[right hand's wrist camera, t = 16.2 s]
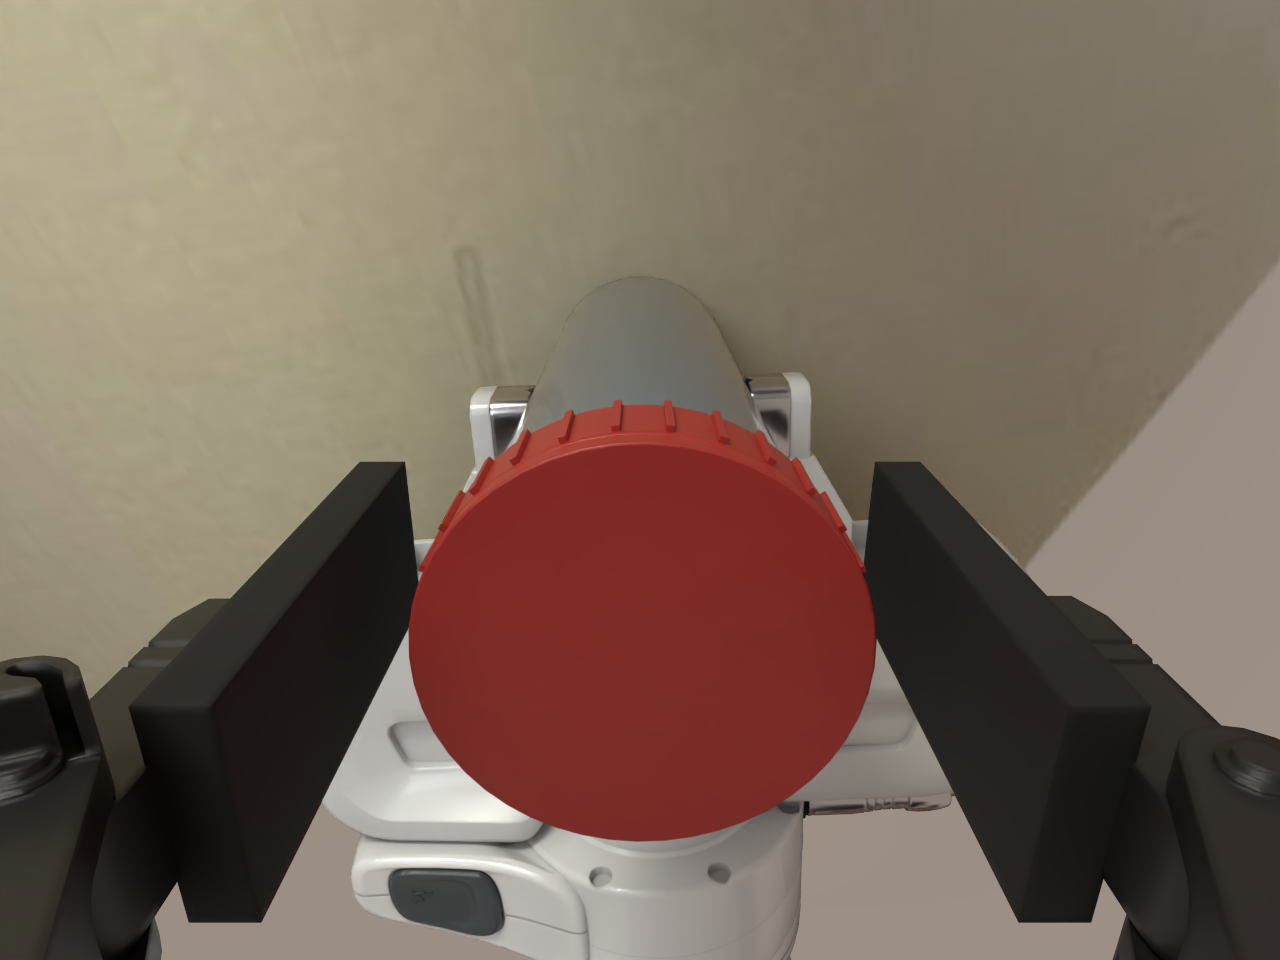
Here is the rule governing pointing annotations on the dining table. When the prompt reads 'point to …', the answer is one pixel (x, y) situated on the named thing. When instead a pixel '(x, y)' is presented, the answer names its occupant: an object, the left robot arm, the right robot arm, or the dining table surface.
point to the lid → (642, 625)
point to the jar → (641, 358)
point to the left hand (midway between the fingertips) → (637, 384)
